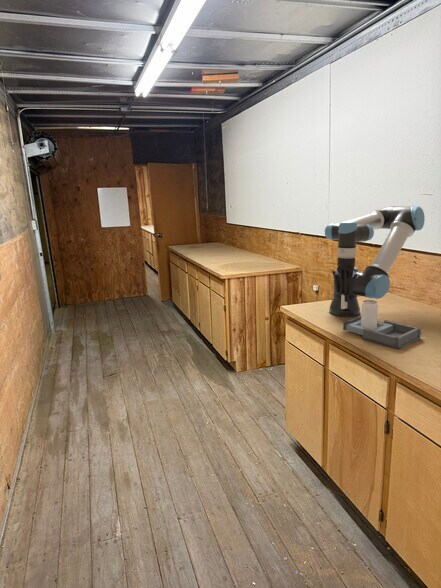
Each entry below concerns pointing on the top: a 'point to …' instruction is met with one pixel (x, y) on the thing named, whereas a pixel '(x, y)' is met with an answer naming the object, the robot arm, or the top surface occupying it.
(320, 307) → the top surface
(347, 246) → the robot arm
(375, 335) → the tray
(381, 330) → the tray
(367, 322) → the can
